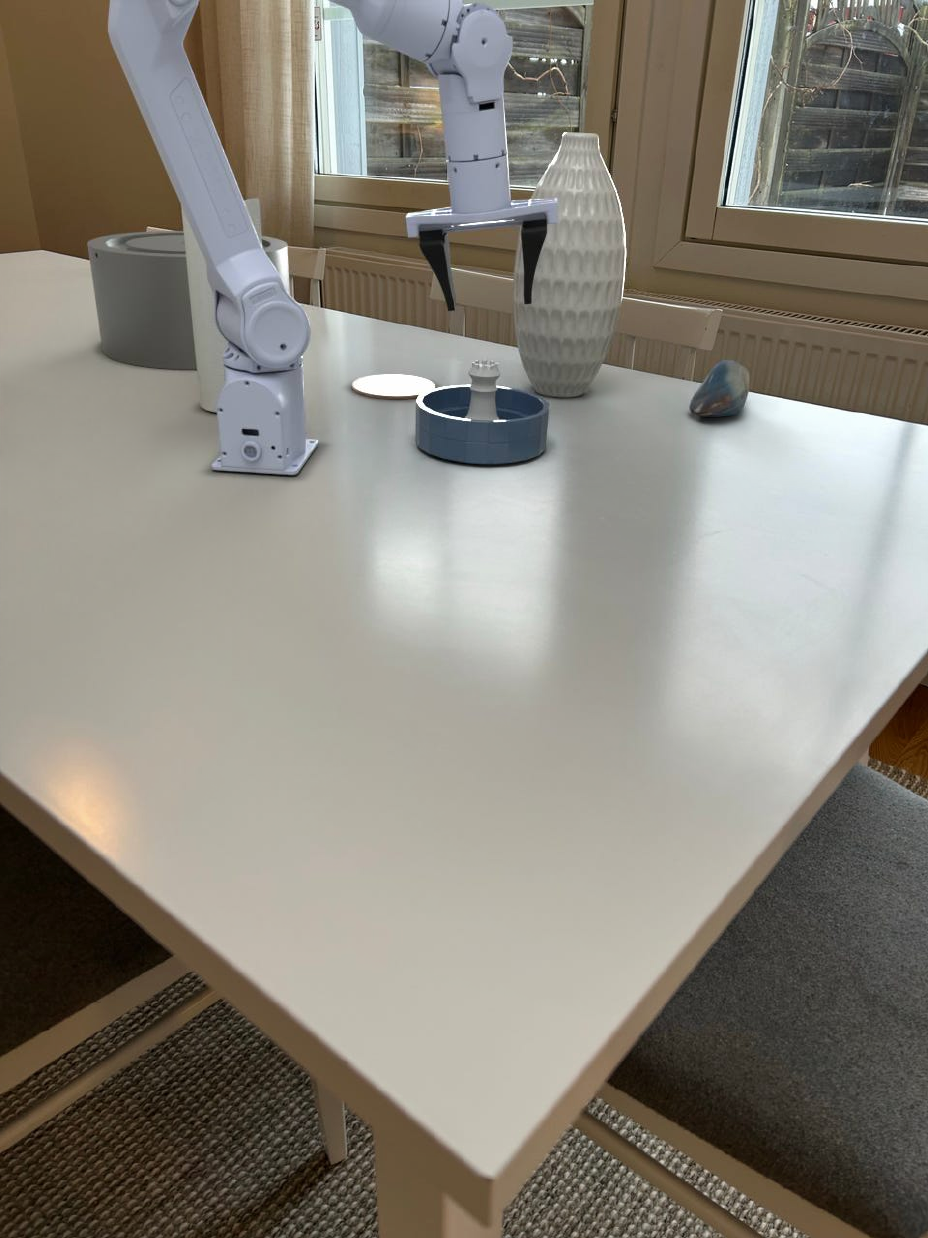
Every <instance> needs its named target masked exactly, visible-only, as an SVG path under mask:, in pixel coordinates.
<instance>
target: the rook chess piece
mask: <svg viewBox="0 0 928 1238" xmlns="http://www.w3.org/2000/svg"><path fill="white" fill-rule="evenodd" d="M467 374H468V375H469V377H470V379H471V384H470V385H471V386H470V390H471V401H470V406H469V411H468V414H467V416H465V419H472V420H488V421H490V420H499V418H498V417H497V413H496V404H495V392H496V391H497V389H498V388H497V386H498V385H496V383H497V380H498V379H499V377H500V376H501V374H502V373H501V371H500V369H499V368H498V362H496V360H490V361H489V364H488V359H481V363H480V360H479V359H474V360H473V361H471V367H470V368H469V369H468V370H467Z"/></svg>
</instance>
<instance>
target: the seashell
mask: <svg viewBox="0 0 928 1238" xmlns="http://www.w3.org/2000/svg"><path fill="white" fill-rule="evenodd" d="M750 386H751V377H750V372H749V370H748V369H747V368H746V367H745V366H743V365H741V364H740V363H738V362H737V361H734V360H731V359H723V360H721V361H719V362H718V363H717V364H716V365H715V366H714V367H713V368H712V369H711V370H710V371H709V373H708V374H707V375H706V377H705V378H704V380H703V381H702V382H701V384H700V385H699V387H698V388H697V390H696V391H695V392H694V394H693V396H692V398H691V400H690V403H689V406H688V409H689V411H690V412H691V413H692V414H694V415H695V416H699V417H702V418H714V417H716V418H717V417H718V418H719V417H728V416H733V415H737V414H740V413H741V412H742V410H743V409H744V406H745V404H746V402H747V400H748V396H749V392H750Z"/></svg>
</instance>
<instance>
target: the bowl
mask: <svg viewBox="0 0 928 1238" xmlns="http://www.w3.org/2000/svg"><path fill="white" fill-rule="evenodd" d="M470 386H471V384H459V385H449V386H441V387H437V388H435V389H433V390H429V391H426V392H425V393H423V394H421V395H419V396H418V398H416V400H415V423H414V424H415V426H414V427H415V429H414V431H415V432H414V434H415V435H414V437H415V438H414V441H415V442H416V445H417V446H418V448H419V449H421V450H422V451H424V452H425V453H427V454H429V455H432V456H435V457H438V458H440V459H443V460H448V461H452V462H455V463H461V464H462V463H463V464H471V465H484V466H485V465H505V464H512V463H513V464H514V463H518V462H522V461H527V460H530V459H532V458H535V457H538V456H540V455H541V454H542V453H544V452H545V451H546V450H547V441H548V428H549V418H550V417H549V415H550V403H549V402H548V401H547V400H546V399H545V398H544V397H542V396H539V395H538V394H535V393H533V392H530V391H527V390H522V389H518V388H514V387H513V388H512V387H506V386H500V385H496V386H497V388H498V389H497V391H496V392H495V404H496V413H497V417H498V418H499V420H490V421H488V420H472V419H465V416H467V414H468V411H469V406H470V401H471V390H470Z"/></svg>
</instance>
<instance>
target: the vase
mask: <svg viewBox="0 0 928 1238" xmlns="http://www.w3.org/2000/svg"><path fill="white" fill-rule="evenodd" d="M599 140H600V139H599V135H598V134H597V133H593V132H591V133H590V132H571V131H569V132H567V131H566V132H563V134H562V137H561V142H560V146H559V149H558V151H557V152H556V154H555V156H554V157H553V159H552V161H551V163H549V165H548V167H547V168H546V170H545V171H544V173H543V175H542V176H541V178H540V180H539V181H538V183H537V185H536V187H535V189H534V191H533V193H532V195H531V196H530V199H529V200H537V199H552V198H557V202H558V223H554V224H547V235H546V238H545V241H544V244H543V247H542V249H541V252H540V256H539V259H538V262H537V266H536V270H535V274H534V279H533V286H532V304H524V265H523V252H522V240H521V229H522V225H520V229H519V233H518V238H517V242H516V247H515V257H514V267H513V280H512V317H513V329H514V330H513V331H514V335H515V340H516V345H517V350H518V353H519V357H520V360H521V363H522V367H523V369H524V372H525V374H526V376H527V378H528V379H529V383H530V385H531V386H532V388H533V390H534V391H535V392H536V393H537V394H539V395H542V396H545V397H551V398H563V399H564V398H566V399H567V398H576V397H579V396H582V395H583V394H584V393H585V392H586V390H587V389H588V388H589V386H590V385H591V383H592V382H593V380H594V379H595V377H596V376H597V375H598V373H599V372H600V370H601V368H602V365H603V363H604V361H605V359H606V357H607V355H608V352H609V350H610V347H611V345H612V341H613V340H614V336H615V332H616V328H617V324H618V322H619V321H618V320H619V317H620V312H621V306H622V300H623V294H624V285H625V284H624V283H625V274H626V273H625V272H626V258H627V248H626V244H627V243H626V230H625V223H624V216H623V212H622V206H621V202H620V199H619V195H618V193H617V189H616V187H615V185H614V182H613V180H612V177H611V174H610V173H609V170H608V168H607V166H606V164H605V161H604V159H603V157H602V154H601V151H600V145H599V143H600V142H599Z"/></svg>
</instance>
